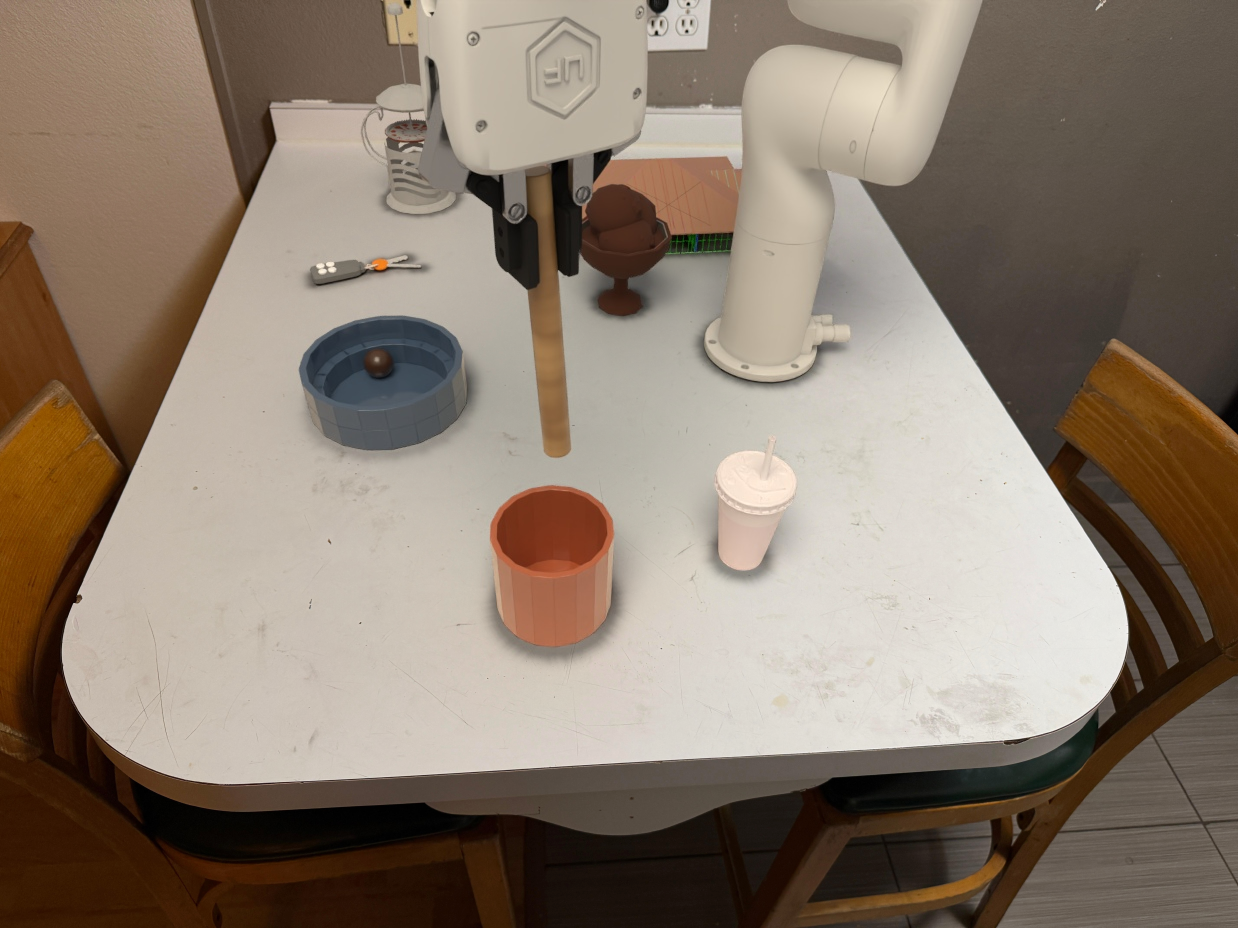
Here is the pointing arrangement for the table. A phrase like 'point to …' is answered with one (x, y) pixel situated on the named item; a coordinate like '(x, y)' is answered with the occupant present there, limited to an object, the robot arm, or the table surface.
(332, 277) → the key chain
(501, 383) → the table surface
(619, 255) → the ice cream bowl
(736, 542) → the smoothie
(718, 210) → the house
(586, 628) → the utensil pot
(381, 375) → the bead
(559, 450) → the stirring stick
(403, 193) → the french press
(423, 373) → the mixing bowl
